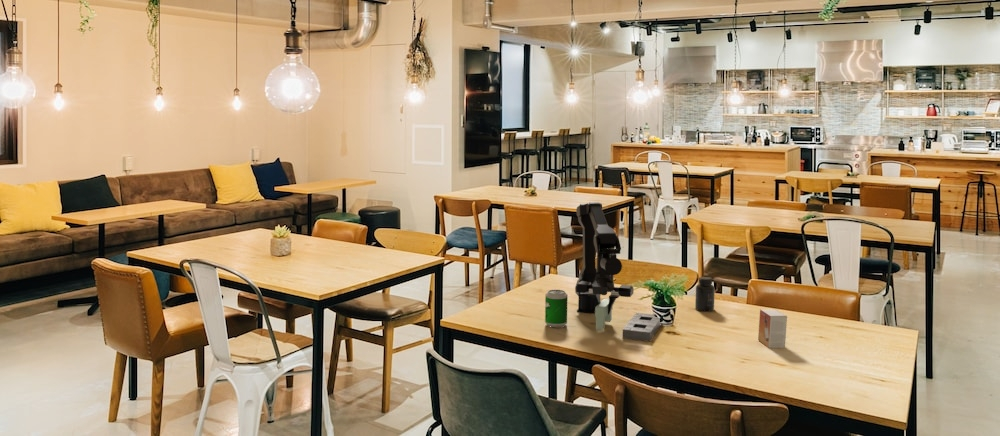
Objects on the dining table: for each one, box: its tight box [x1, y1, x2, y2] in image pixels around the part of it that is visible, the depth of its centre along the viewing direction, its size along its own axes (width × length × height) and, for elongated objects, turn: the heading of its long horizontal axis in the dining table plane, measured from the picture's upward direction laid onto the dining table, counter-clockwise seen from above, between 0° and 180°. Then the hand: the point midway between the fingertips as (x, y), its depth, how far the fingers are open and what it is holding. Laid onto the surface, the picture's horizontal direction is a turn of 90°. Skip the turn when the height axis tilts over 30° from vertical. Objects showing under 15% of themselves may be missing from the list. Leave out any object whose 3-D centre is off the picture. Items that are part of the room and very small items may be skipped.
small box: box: [757, 308, 788, 349], centre depth 247 cm, size 8×6×10 cm
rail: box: [622, 312, 661, 342], centre depth 261 cm, size 9×22×3 cm, turn 159°
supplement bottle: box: [694, 276, 716, 312], centre depth 288 cm, size 7×7×12 cm
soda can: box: [544, 289, 568, 328], centre depth 266 cm, size 8×8×12 cm
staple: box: [594, 298, 614, 331], centre depth 263 cm, size 3×12×8 cm, turn 159°
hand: (604, 313), depth 263 cm, fingers closed on staple, 3 cm apart
